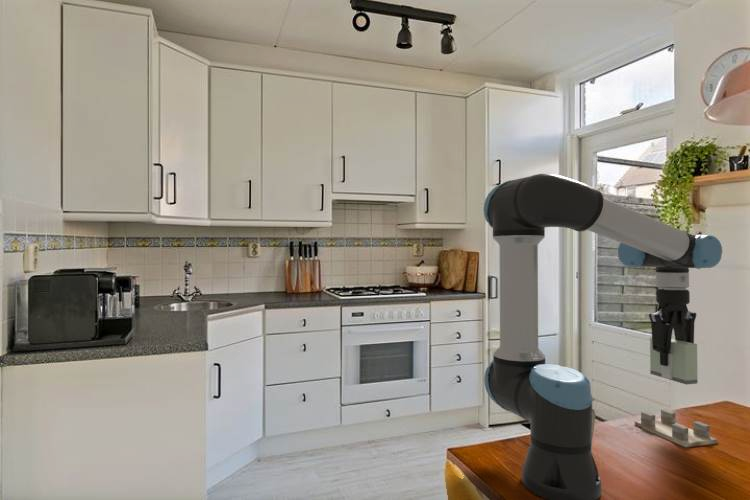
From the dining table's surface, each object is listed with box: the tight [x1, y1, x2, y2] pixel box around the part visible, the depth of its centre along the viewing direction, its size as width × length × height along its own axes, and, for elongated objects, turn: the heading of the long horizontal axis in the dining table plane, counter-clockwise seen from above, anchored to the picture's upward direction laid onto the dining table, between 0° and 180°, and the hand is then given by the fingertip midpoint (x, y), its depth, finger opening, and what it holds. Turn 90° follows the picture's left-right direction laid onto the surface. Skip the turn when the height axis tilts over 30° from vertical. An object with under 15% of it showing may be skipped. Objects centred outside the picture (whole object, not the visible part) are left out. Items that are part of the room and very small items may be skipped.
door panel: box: [649, 336, 698, 385], centre depth 126 cm, size 4×11×10 cm, turn 15°
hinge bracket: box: [634, 409, 719, 448], centre depth 126 cm, size 10×16×4 cm, turn 15°
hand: (673, 377), depth 126 cm, fingers closed on door panel, 4 cm apart
